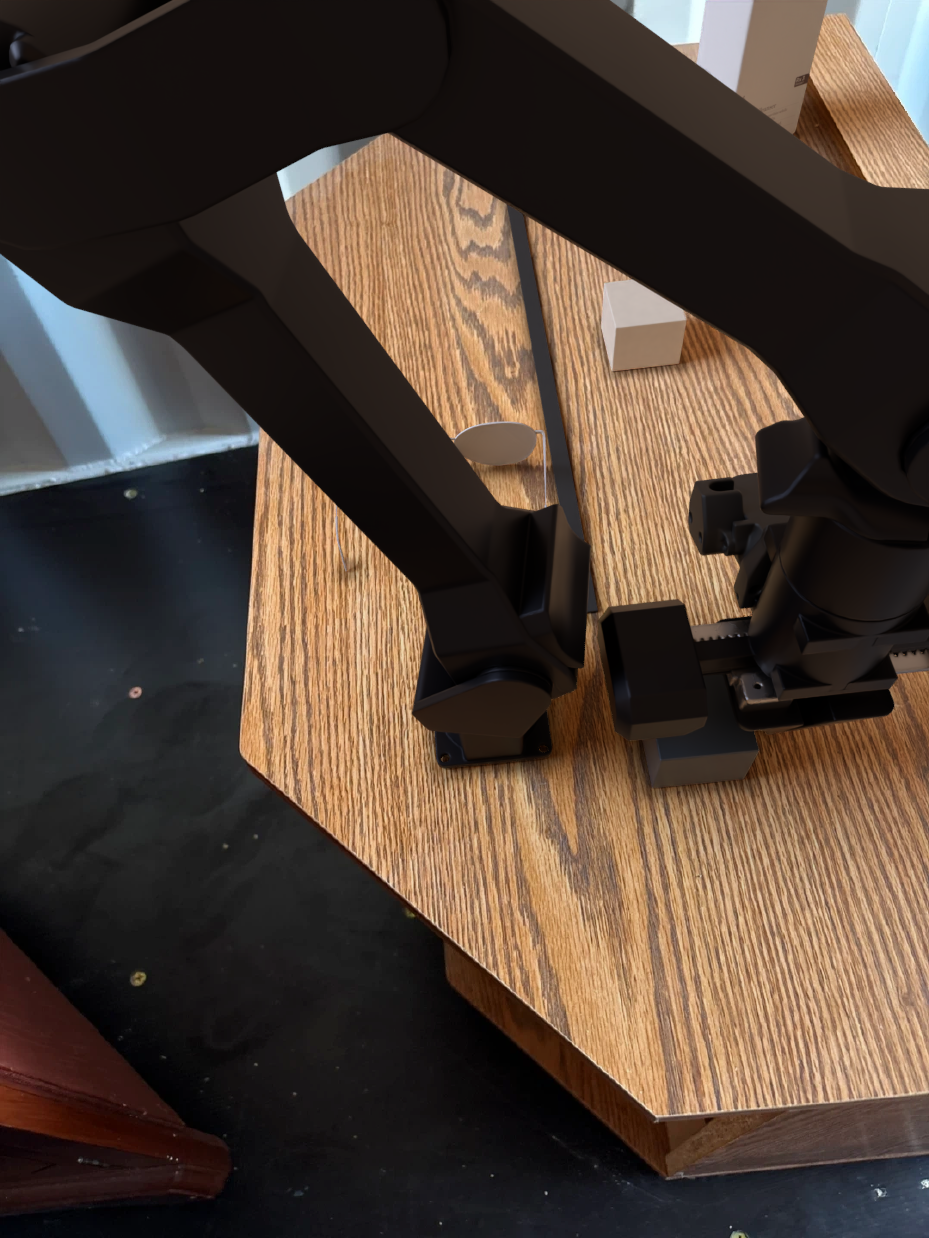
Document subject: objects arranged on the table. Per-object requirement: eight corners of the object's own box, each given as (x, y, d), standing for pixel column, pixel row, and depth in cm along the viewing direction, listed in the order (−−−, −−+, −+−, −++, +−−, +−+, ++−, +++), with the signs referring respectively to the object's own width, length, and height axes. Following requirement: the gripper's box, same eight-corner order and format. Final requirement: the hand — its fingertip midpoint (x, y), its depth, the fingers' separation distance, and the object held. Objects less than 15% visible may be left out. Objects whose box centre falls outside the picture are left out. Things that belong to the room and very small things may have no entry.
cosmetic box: (722, 164, 75) (758, -33, 63) (682, 134, 78) (708, -61, 66) (799, 133, 77) (849, -66, 64) (756, 104, 80) (796, -91, 67)
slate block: (744, 779, 46) (760, 750, 43) (651, 788, 46) (660, 760, 43) (722, 696, 49) (736, 663, 45) (635, 706, 49) (642, 673, 45)
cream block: (679, 364, 63) (687, 319, 59) (611, 372, 63) (615, 328, 60) (665, 319, 65) (672, 274, 62) (600, 327, 66) (603, 282, 62)
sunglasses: (544, 461, 59) (545, 418, 54) (551, 571, 56) (552, 535, 51) (346, 472, 60) (330, 431, 55) (341, 581, 57) (324, 547, 52)
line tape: (597, 611, 52) (597, 610, 52) (578, 613, 52) (578, 612, 52) (511, 155, 79) (511, 153, 78) (498, 157, 79) (498, 155, 78)
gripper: (1012, 385, 37) (891, 584, 50) (584, 436, 38) (576, 619, 51) (1139, 598, 31) (964, 759, 44) (630, 655, 32) (607, 797, 45)
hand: (769, 725), depth 46 cm, fingers closed
